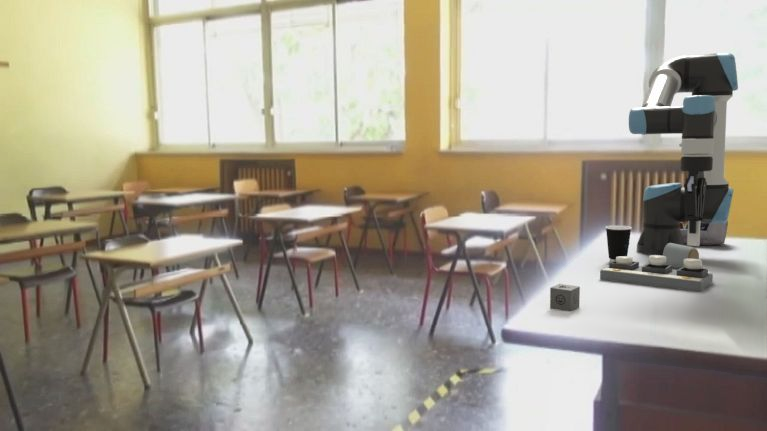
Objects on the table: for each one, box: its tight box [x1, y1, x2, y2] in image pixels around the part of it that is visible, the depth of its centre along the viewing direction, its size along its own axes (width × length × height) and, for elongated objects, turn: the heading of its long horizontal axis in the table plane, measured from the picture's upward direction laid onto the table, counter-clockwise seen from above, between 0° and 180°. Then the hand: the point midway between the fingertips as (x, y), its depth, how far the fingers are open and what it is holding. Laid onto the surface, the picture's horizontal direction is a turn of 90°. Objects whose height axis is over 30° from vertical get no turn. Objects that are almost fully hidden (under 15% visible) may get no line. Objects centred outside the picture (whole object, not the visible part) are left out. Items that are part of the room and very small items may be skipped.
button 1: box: [616, 255, 634, 265], centre depth 182 cm, size 4×4×2 cm
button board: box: [599, 260, 714, 292], centre depth 176 cm, size 12×26×4 cm, turn 51°
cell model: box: [680, 219, 729, 246], centre depth 234 cm, size 13×11×20 cm
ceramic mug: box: [662, 243, 700, 270], centre depth 191 cm, size 11×8×8 cm
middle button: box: [648, 255, 666, 265], centre depth 177 cm, size 4×4×2 cm
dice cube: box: [549, 283, 581, 312], centre depth 150 cm, size 5×5×5 cm
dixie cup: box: [605, 225, 633, 263], centre depth 204 cm, size 8×8×11 cm
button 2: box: [683, 258, 703, 269], centre depth 171 cm, size 4×4×2 cm
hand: (693, 245), depth 170 cm, fingers closed
